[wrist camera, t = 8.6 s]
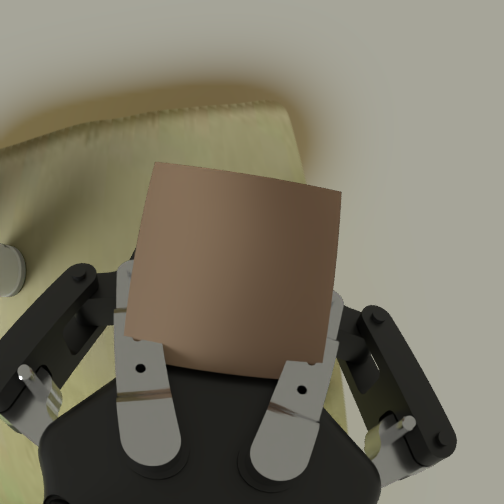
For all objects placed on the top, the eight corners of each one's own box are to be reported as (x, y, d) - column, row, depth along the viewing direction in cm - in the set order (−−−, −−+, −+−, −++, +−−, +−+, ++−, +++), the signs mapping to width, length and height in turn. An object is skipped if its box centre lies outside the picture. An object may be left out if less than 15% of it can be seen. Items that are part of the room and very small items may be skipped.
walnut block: (179, 319, 18) (121, 355, 7) (192, 236, 18) (155, 162, 8) (263, 331, 18) (319, 381, 7) (274, 249, 19) (341, 191, 8)
